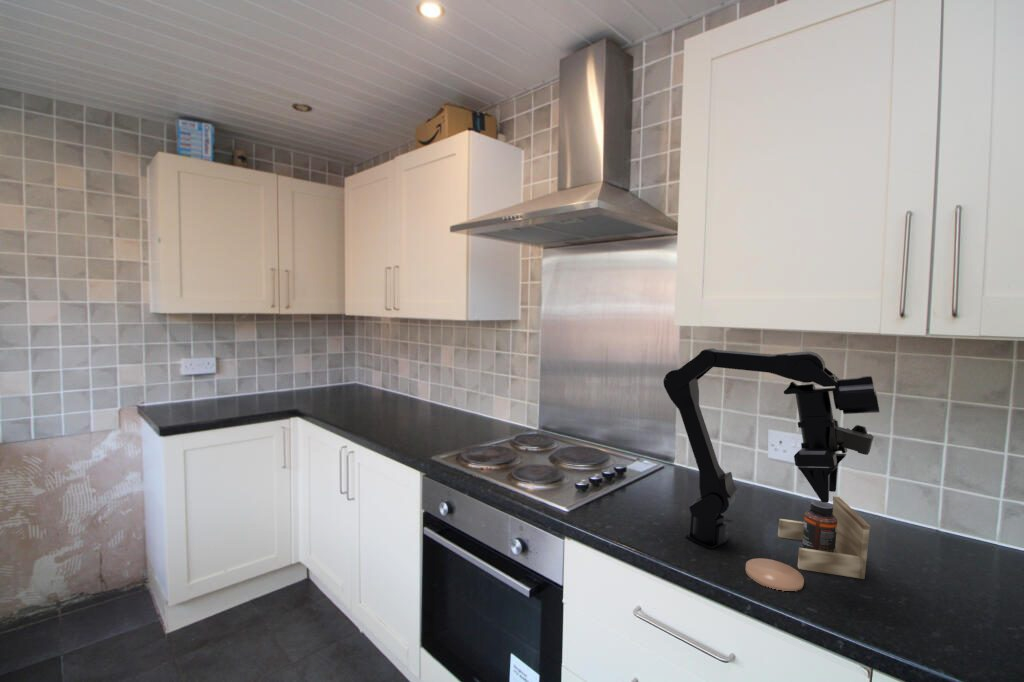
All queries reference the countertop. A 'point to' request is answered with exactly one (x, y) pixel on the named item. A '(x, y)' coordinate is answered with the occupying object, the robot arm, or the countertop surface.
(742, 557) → the countertop surface
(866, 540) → the wooden bench
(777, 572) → the peach rounded disc
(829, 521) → the supplement bottle
